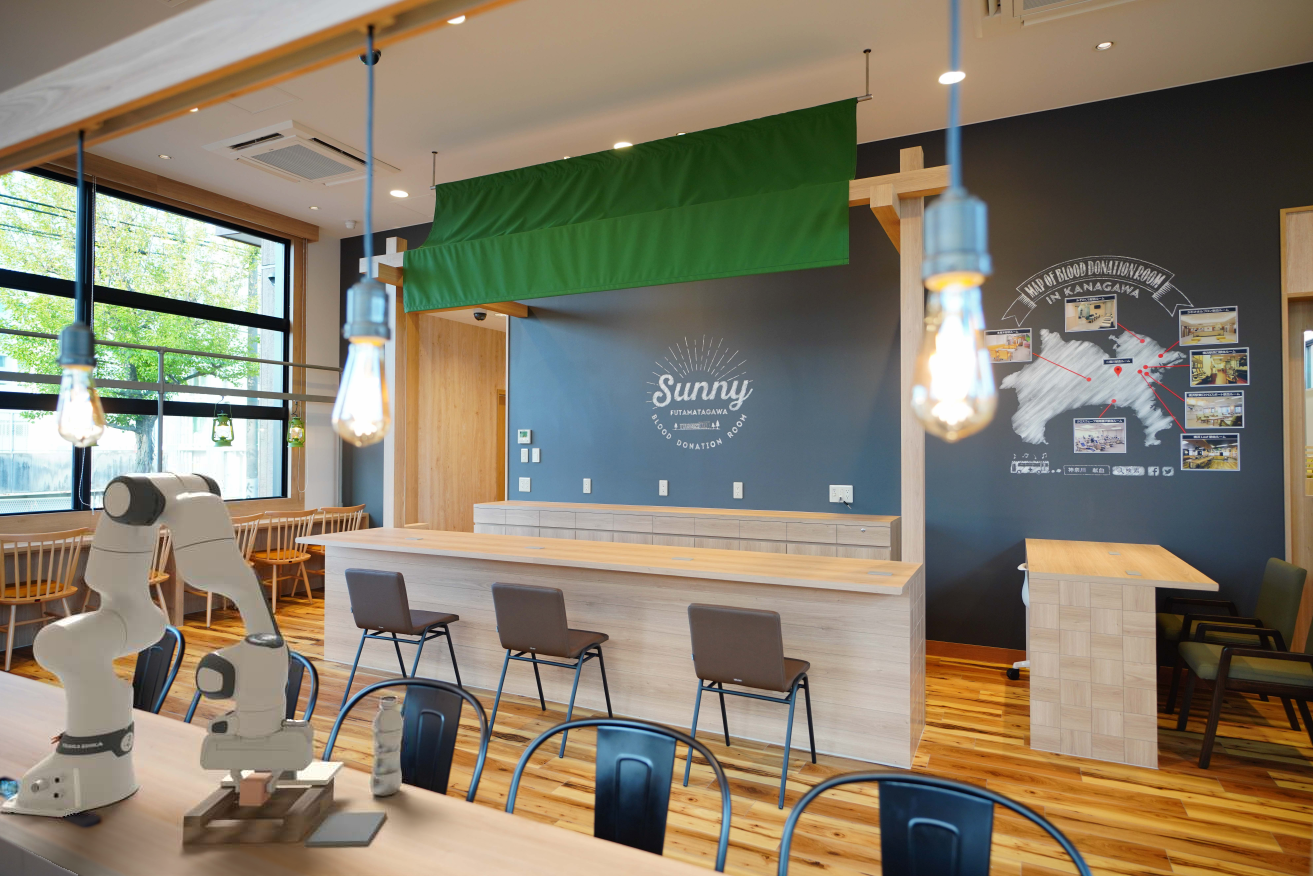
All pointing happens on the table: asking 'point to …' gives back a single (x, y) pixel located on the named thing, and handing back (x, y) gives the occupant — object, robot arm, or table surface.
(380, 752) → the plastic bottle
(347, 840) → the coaster
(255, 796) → the block
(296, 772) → the lid
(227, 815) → the wooden box
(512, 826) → the table surface
